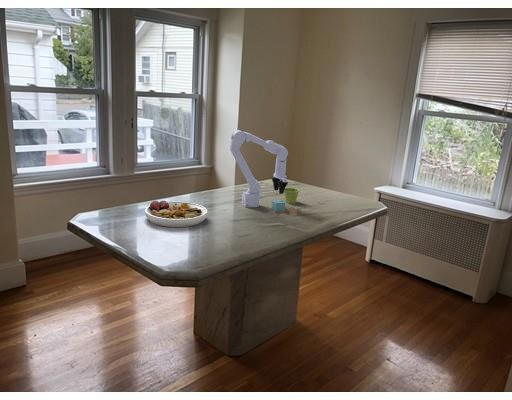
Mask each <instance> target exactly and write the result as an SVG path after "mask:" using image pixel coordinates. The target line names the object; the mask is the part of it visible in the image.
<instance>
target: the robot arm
mask: <svg viewBox="0 0 512 400" xmlns="http://www.w3.org/2000/svg"><path fill="white" fill-rule="evenodd" d="M245 142H246V143H249V142H252V143H255V144H257V145H258V146H259V145H260V146H261V147H263V149H264V151H267V152H268V153H271V154H272V155H276V159H275V170H274V173H273V177H271V181H272V183H273V190H274V191H278V193H279V194H280V195H284V190H285V188H287V185H288V184H289V181H288V179H287V178H288V176H287V175H286V170H287V157H288V156H289V151H288V149H287V148H286V147H284V145H282V144H281V143H280V144H278V143H276V142H274V140H272V139H271V140H270V139H269V140H264V139H262V138H260V137H258V136H256V135H254V134H252V133H250V132H246V131H243V130H240V129H236V130H234V131H233V132H232V135H231V138H230V148H229V149H230V152H231V155H232V156H233V159H234V160H235V161H236V164H237V165H238V168H239V169H240V171H241V173H242V175H243V176H244V179H245V180H246V182H247V183H246V184H247V187H248V188H247V190H246V191H243V192H242V194H241V206H243V207H244V208H257V207H259V206H260V195H261V184H260V182H259V181H258V180H257V179H256V178H255V177H254V175H253V173H252V171H251V169H250V167H249V165H248V164H247V162H246V159H245V158H244V156H243V154H242V152H241V147H242V145H243V143H245Z"/></svg>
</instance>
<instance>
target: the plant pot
mask: <svg viewBox="0 0 512 400" xmlns="http://www.w3.org/2000/svg"><path fill="white" fill-rule="evenodd" d="M299 192H300V190H299V189H298V188H293V187H285V190H284V193H283V195H284V202H285V204H286V203H287V204H291V205H292V204H296V203H297V198H298V195H299Z"/></svg>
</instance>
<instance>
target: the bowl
mask: <svg viewBox="0 0 512 400" xmlns="http://www.w3.org/2000/svg"><path fill="white" fill-rule="evenodd" d="M144 213H145V217H146V219H148V220H149V222H151V223H152V224H155V225H158V226H160V227H161V226H162V227H166V228H187V227H193V226H196V225H199V224H200V223H202V222H204V221H205V220H206V218H207V217H208V209H207V208H206V207H205V206H203V205H201V204H197V203H193V202H186V201H166V200H160V201H158V200H153V201H152V202H151V203H149V205H148V206H146V208H145V210H144Z"/></svg>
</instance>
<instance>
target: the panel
mask: <svg viewBox="0 0 512 400" xmlns="http://www.w3.org/2000/svg"><path fill="white" fill-rule="evenodd" d="M268 209H269V210H270V211H271V212H273V213H274V214H275V215H276V216H295V215H297V216H298V215H303V213H302V212H301V211H299V210H297V208H295V207H293V206H292V207H285V211H284V212H275V211H274V210H272V207H270V208H269V207H268Z"/></svg>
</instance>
